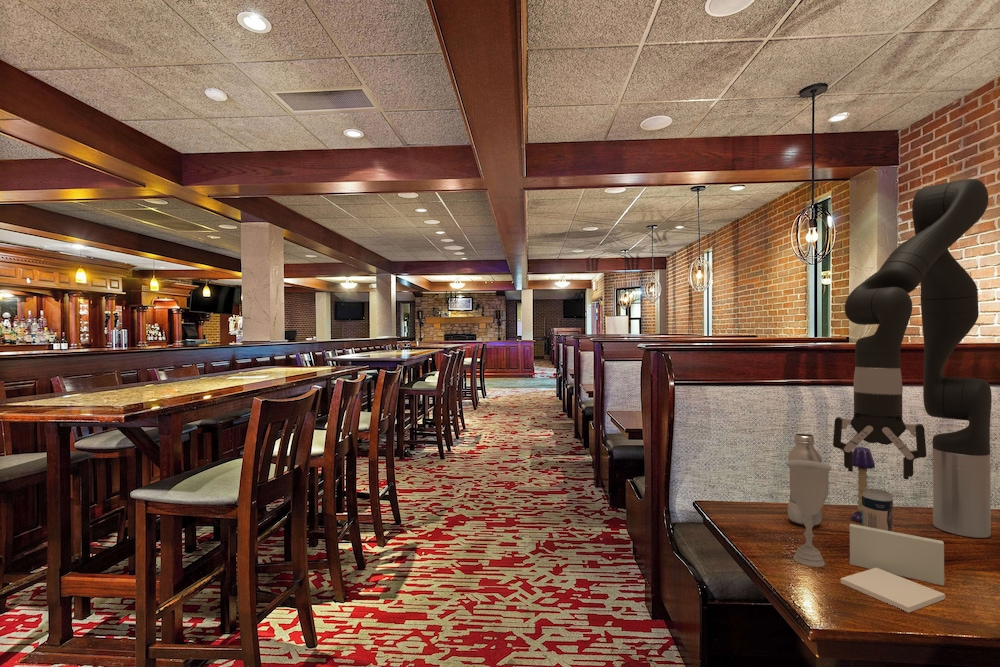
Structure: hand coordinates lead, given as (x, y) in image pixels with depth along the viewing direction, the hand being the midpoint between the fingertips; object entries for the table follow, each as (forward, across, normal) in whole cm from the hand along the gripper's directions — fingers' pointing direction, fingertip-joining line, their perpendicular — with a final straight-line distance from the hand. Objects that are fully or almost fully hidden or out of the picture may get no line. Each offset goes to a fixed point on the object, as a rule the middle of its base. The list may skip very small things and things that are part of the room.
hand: (877, 474), depth 96 cm
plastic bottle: (+15, -13, +10) cm, 23 cm away
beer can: (+16, 0, 0) cm, 16 cm away
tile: (+16, +2, -16) cm, 22 cm away
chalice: (+16, -10, -11) cm, 22 cm away
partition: (+15, +2, -8) cm, 17 cm away
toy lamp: (+15, -3, +20) cm, 25 cm away
